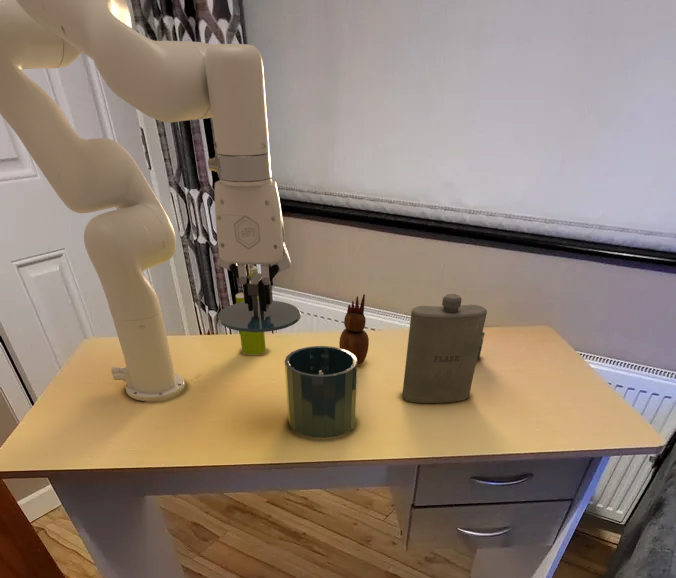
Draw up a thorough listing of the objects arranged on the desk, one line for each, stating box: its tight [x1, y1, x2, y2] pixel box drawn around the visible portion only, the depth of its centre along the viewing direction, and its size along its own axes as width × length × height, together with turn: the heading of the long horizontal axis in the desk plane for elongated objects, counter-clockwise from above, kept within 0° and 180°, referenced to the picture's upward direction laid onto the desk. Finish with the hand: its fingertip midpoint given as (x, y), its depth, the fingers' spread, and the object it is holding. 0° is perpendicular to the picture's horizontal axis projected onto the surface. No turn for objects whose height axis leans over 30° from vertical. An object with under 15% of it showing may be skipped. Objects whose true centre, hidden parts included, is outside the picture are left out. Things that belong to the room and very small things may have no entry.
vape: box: [235, 264, 267, 356], centre depth 119 cm, size 4×6×20 cm, turn 88°
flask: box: [401, 293, 488, 404], centre depth 104 cm, size 15×6×20 cm, turn 96°
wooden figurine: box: [338, 293, 370, 366], centre depth 117 cm, size 7×6×15 cm
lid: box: [217, 272, 301, 333], centre depth 86 cm, size 14×14×6 cm
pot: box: [284, 345, 358, 439], centre depth 99 cm, size 13×13×12 cm
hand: (259, 307), depth 87 cm, fingers closed on lid
